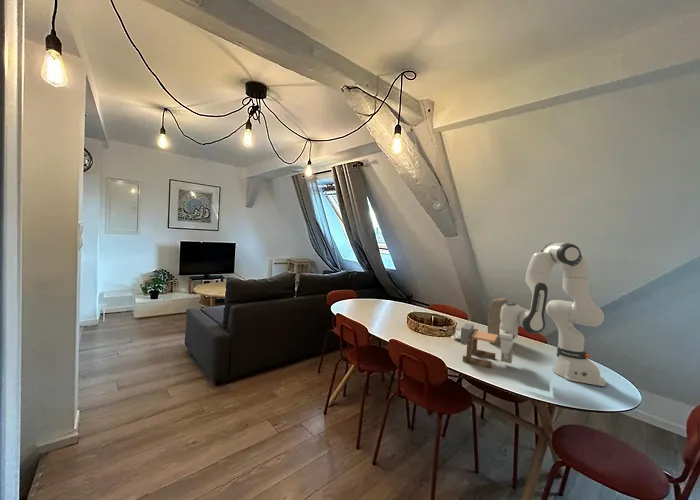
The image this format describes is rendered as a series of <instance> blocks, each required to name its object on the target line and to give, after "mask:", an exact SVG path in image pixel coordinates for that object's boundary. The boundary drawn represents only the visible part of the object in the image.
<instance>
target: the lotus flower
mask: <svg viewBox="0 0 700 500" xmlns="http://www.w3.org/2000/svg"><path fill="white" fill-rule="evenodd" d="M450 337H451V339H454V338H456V339H457V340H459V341H460V340H461V328H460V329H459V330H458V329H456V330H455V332H454V334H453V333H452V335H451V336H450ZM472 343H473V340H472ZM464 344H465V345H467V343H464Z"/></svg>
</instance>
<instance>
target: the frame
mask: <svg viewBox="0 0 700 500" xmlns="http://www.w3.org/2000/svg"><path fill="white" fill-rule="evenodd" d="M474 331H479V329H477V328H474V330H473V332H474ZM472 341H473V342H472ZM472 355H475V356H479V357H480V356H481V357H484V358H488V359H494V360H496V352H493V351H492V352H491V351H486V350H482V349H478V339H473V336H471V335H468V339H467V343H466V355H463V356H462V362H463V363H466V364H467V363H468V364H472V365H475V366H481V367H484V368H488V369H491V368H492V361H490V360H484V359H480V358H476V357H472Z"/></svg>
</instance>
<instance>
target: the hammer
mask: <svg viewBox="0 0 700 500" xmlns="http://www.w3.org/2000/svg"><path fill="white" fill-rule="evenodd" d="M474 327H475V325H474V324H471V323H465V324H464V325H462V326H461V328H460V329H461V340H460V339H459V341H460V343H464V344H465V343H466V344H467V339H468V335H471V336H473V339H478V340H479V341H483V342H488V343H490V342H493V343H495V341H496V339H497V337H498V335H495V334H490V333H488V332H486V331H485V332H484V331H479V330H478V331H474V332H473V330H474V329H475V328H474ZM478 340H477V341H478Z"/></svg>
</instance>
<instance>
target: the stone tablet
mask: <svg viewBox="0 0 700 500" xmlns="http://www.w3.org/2000/svg"><path fill="white" fill-rule="evenodd" d="M505 303H509V302H508V299H507V297H499V298H494V299H492V301H491V304H490V308H489V312H488V316H487V333H490V334H495V335H498V337H497V339H496V341H495V343H493V342H489V343H490V344H491V345H495V344H499V343H500V344H501V338H500V334H499V331H500V323H501V319H500V314H501V308H502V305H503V304H505Z"/></svg>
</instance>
